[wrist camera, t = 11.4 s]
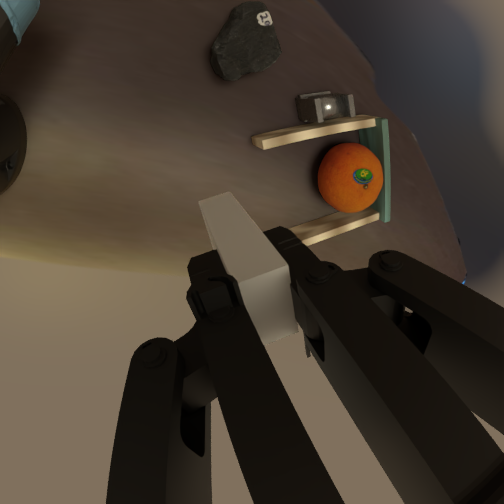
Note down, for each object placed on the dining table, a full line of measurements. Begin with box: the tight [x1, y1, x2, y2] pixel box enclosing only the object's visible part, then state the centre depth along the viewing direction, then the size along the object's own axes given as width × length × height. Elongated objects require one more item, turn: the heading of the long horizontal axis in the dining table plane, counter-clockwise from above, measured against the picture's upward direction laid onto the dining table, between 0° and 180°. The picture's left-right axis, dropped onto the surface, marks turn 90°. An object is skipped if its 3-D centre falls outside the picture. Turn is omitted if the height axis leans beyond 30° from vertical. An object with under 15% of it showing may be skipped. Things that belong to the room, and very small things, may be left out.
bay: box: [251, 115, 390, 246], centre depth 41 cm, size 19×17×6 cm
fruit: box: [318, 143, 383, 213], centre depth 41 cm, size 11×10×8 cm
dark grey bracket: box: [295, 91, 356, 123], centre depth 36 cm, size 6×4×6 cm, turn 103°
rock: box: [210, 1, 282, 81], centre depth 28 cm, size 9×10×6 cm
